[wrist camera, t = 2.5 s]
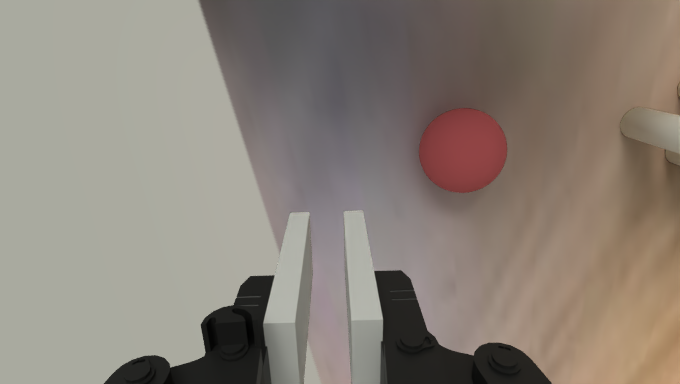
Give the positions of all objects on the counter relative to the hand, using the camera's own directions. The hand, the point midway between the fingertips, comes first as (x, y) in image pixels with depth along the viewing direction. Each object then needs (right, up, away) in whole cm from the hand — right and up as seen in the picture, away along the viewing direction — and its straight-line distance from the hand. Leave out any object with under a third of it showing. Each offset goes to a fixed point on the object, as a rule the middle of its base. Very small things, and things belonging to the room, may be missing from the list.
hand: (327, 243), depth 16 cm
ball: (+9, +5, +13) cm, 16 cm away
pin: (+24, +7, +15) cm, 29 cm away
